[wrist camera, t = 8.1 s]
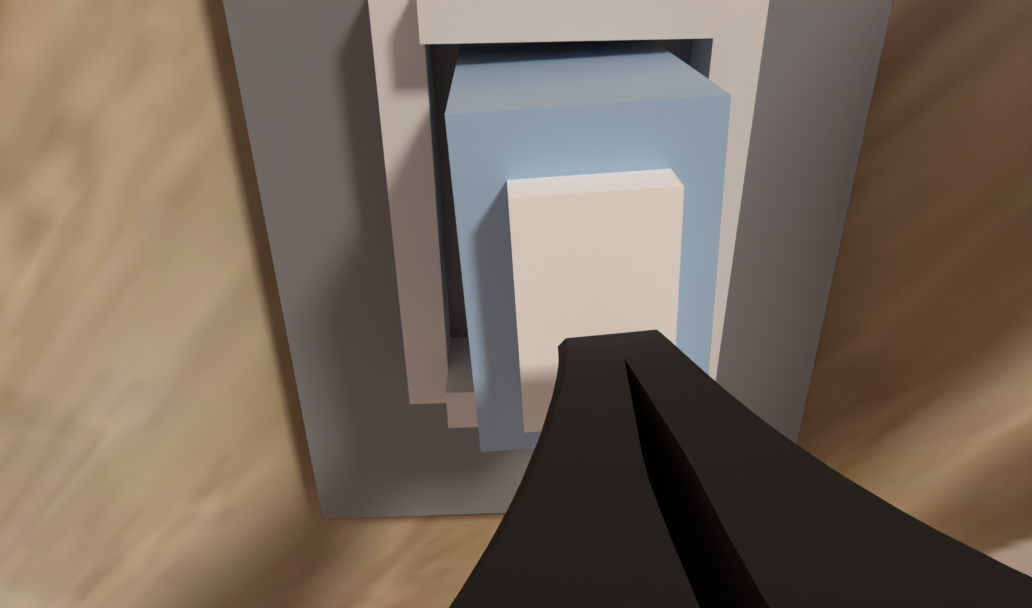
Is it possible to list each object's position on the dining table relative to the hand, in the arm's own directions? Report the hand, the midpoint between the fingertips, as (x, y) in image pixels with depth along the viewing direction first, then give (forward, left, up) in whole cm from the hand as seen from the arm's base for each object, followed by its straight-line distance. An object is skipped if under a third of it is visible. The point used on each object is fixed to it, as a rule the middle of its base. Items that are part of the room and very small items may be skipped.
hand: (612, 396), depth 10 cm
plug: (0, 0, -8) cm, 8 cm away
